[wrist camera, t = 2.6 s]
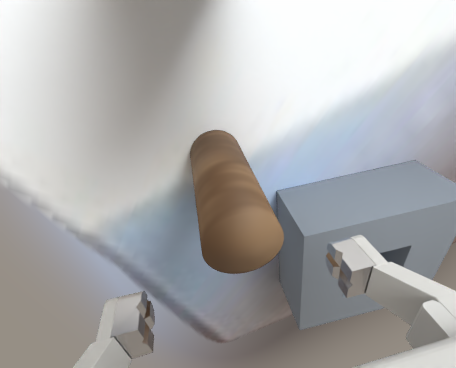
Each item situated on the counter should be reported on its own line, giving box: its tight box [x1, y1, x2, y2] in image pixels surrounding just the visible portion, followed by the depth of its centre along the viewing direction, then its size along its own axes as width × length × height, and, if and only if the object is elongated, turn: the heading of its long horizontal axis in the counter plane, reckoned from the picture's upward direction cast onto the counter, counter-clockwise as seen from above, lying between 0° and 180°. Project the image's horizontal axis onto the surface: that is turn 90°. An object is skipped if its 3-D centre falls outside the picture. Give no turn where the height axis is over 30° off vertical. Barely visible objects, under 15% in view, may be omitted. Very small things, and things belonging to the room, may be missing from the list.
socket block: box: [277, 160, 456, 330], centre depth 25 cm, size 14×14×6 cm
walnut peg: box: [190, 130, 284, 274], centre depth 16 cm, size 4×4×10 cm
